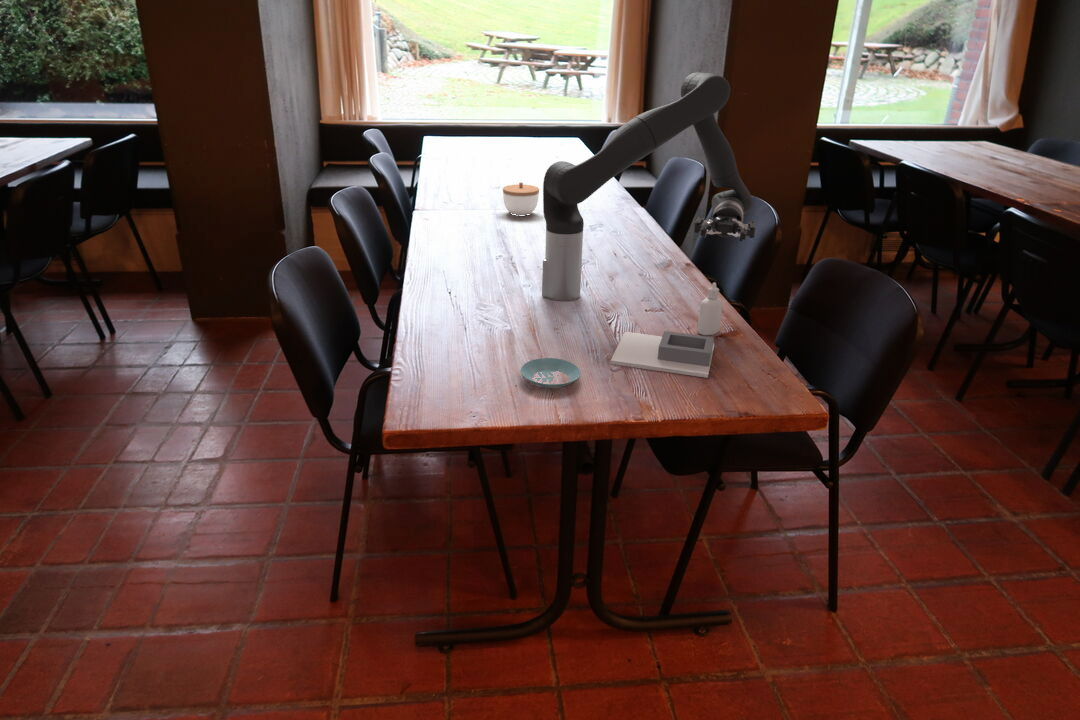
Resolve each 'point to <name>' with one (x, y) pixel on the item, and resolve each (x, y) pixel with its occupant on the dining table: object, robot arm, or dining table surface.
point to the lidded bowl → (520, 198)
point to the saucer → (549, 370)
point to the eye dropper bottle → (710, 312)
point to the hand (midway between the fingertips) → (722, 235)
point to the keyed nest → (666, 353)
